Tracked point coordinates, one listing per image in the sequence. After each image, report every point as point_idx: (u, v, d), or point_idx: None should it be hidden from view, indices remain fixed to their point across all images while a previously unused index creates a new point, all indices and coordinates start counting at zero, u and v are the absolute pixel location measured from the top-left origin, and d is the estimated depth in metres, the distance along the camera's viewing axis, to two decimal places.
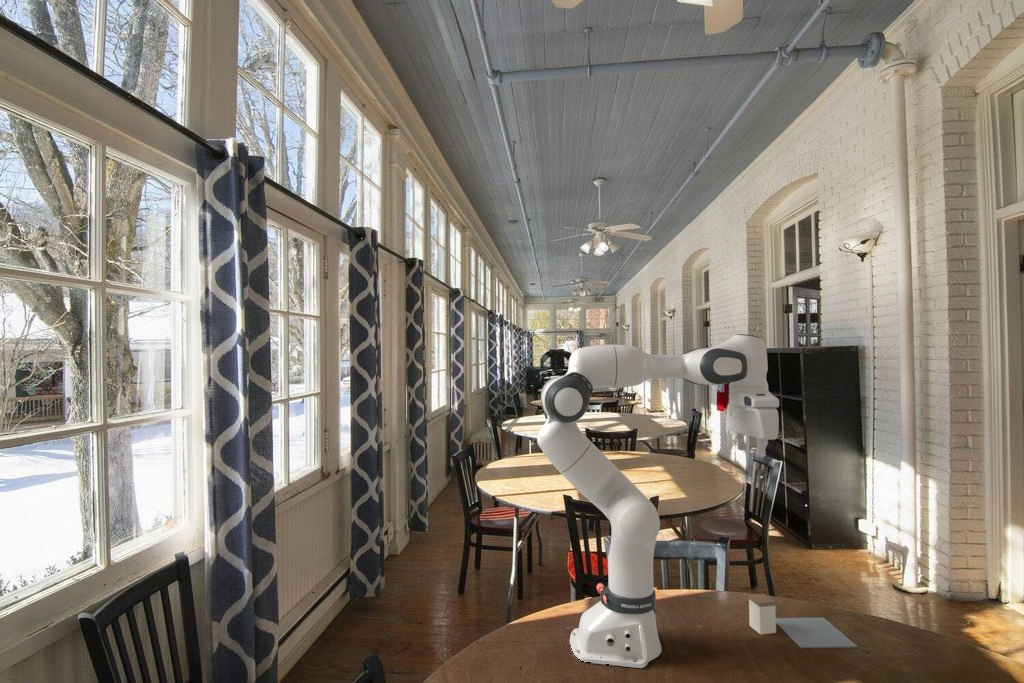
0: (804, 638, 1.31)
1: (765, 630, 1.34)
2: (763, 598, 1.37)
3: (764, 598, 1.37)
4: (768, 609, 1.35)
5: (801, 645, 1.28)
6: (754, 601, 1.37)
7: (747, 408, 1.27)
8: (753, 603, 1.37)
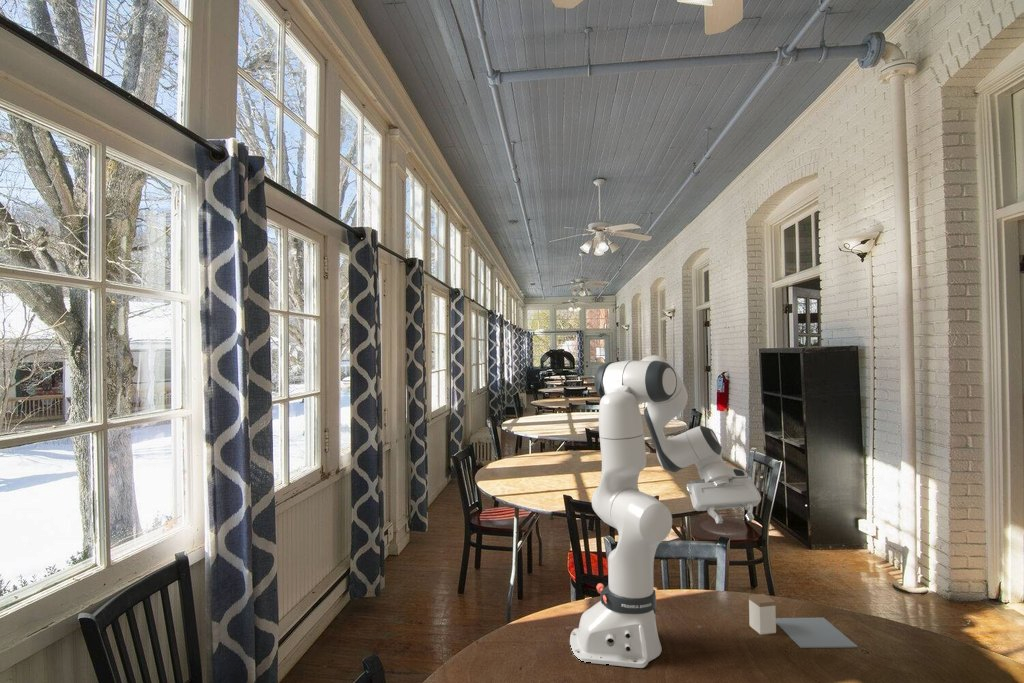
0: (804, 638, 1.31)
1: (765, 630, 1.34)
2: (763, 598, 1.37)
3: (764, 598, 1.37)
4: (768, 609, 1.35)
5: (801, 645, 1.28)
6: (754, 601, 1.37)
7: (737, 479, 1.56)
8: (753, 603, 1.37)
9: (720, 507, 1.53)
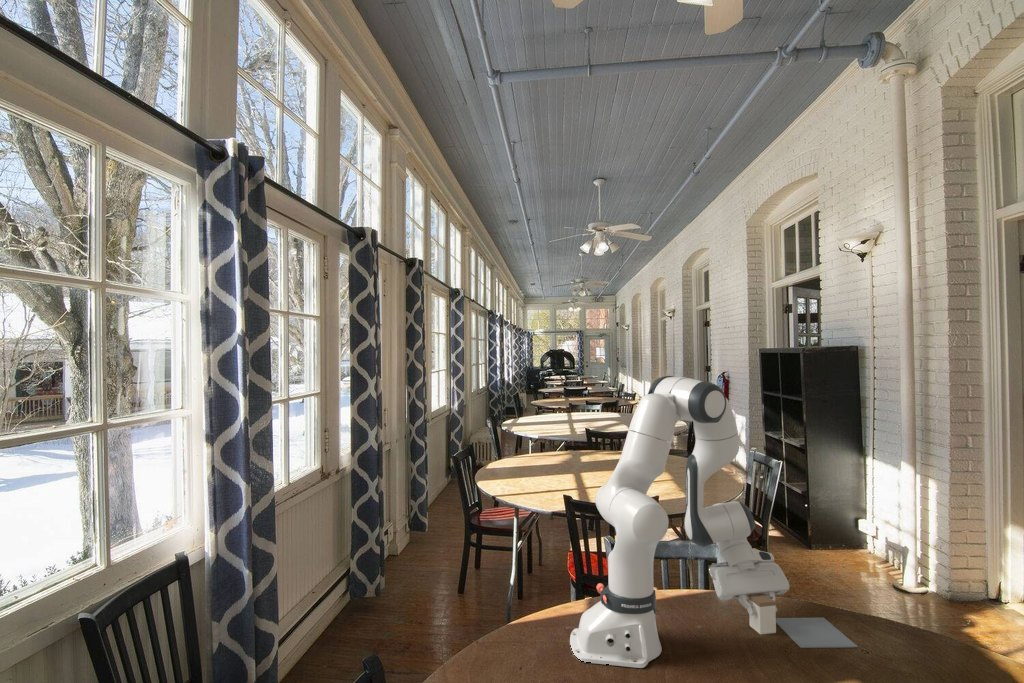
0: (804, 638, 1.31)
1: (765, 630, 1.34)
2: (763, 597, 1.37)
3: (764, 598, 1.37)
4: (768, 609, 1.35)
5: (801, 645, 1.28)
6: (754, 601, 1.37)
7: (763, 563, 1.43)
8: (753, 603, 1.37)
9: (746, 595, 1.40)
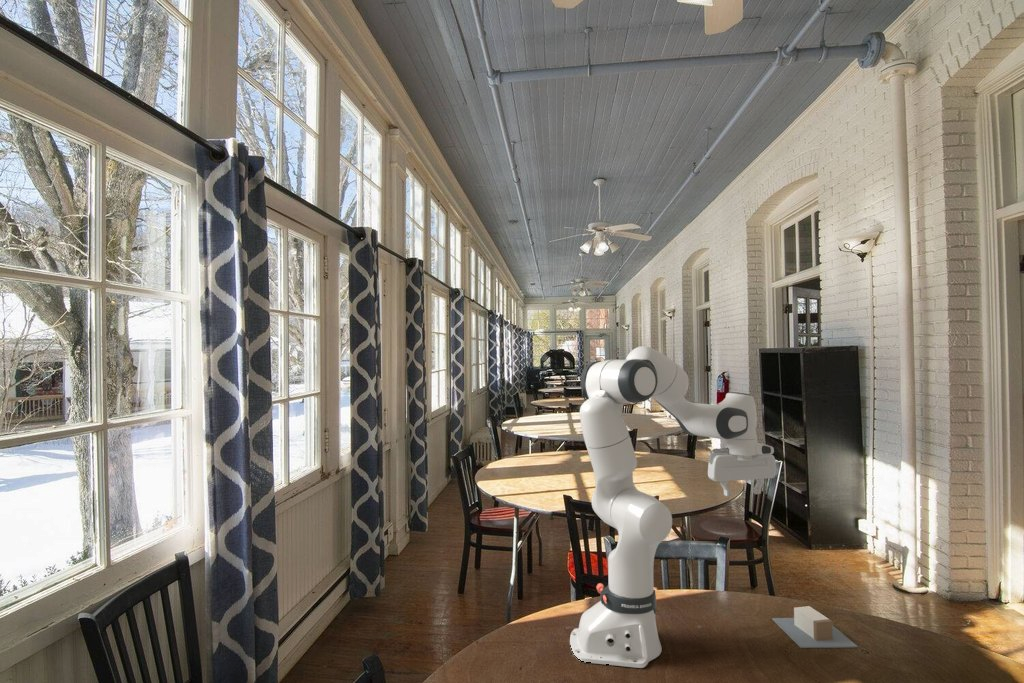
0: (804, 638, 1.31)
1: None
2: (826, 630, 1.31)
3: (826, 631, 1.31)
4: None
5: (801, 645, 1.28)
6: (814, 630, 1.31)
7: (761, 456, 1.51)
8: (812, 628, 1.31)
9: None
